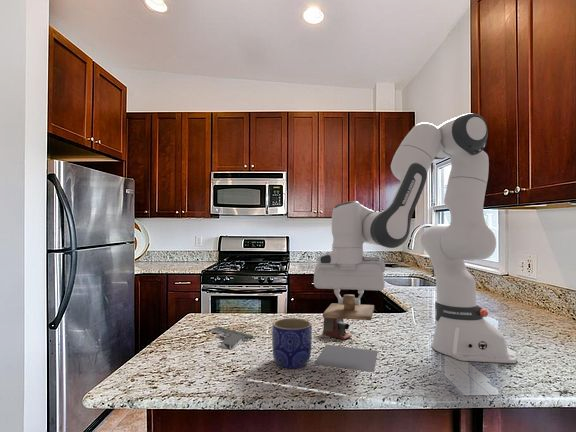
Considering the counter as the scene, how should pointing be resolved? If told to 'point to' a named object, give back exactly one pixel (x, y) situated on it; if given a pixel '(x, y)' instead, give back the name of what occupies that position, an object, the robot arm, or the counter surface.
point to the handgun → (231, 337)
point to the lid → (349, 310)
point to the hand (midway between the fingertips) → (349, 304)
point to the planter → (291, 342)
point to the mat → (348, 358)
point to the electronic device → (336, 328)
